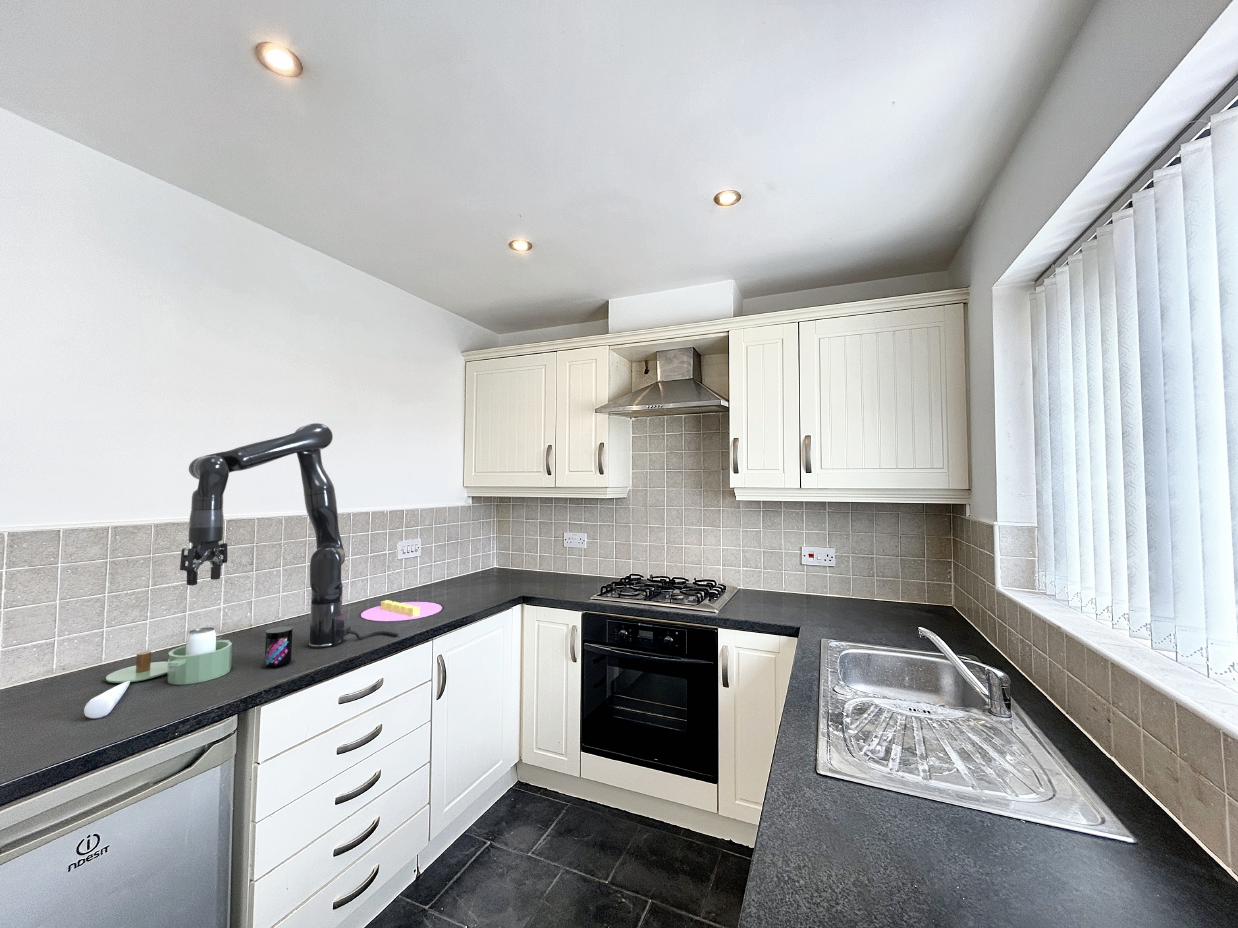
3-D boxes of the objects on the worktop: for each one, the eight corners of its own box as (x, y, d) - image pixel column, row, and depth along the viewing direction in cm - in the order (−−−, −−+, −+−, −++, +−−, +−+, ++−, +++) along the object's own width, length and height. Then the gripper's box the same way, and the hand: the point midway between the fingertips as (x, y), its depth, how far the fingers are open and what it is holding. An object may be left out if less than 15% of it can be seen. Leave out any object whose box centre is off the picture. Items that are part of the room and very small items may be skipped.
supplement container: (258, 667, 144) (259, 631, 144) (280, 659, 150) (281, 625, 151) (275, 669, 142) (277, 633, 143) (296, 661, 149) (298, 627, 149)
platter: (389, 625, 187) (390, 616, 187) (344, 613, 204) (345, 605, 204) (457, 608, 214) (458, 600, 214) (413, 598, 231) (413, 591, 231)
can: (197, 678, 134) (198, 634, 135) (178, 676, 136) (180, 632, 136) (220, 669, 141) (222, 627, 141) (202, 667, 142) (204, 626, 143)
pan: (248, 662, 148) (249, 637, 148) (198, 688, 129) (200, 659, 129) (200, 663, 147) (202, 637, 147) (144, 689, 128) (145, 660, 128)
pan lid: (190, 664, 146) (191, 643, 146) (147, 684, 131) (148, 661, 131) (139, 665, 145) (140, 644, 145) (89, 685, 130) (90, 662, 130)
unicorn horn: (148, 680, 134) (148, 662, 134) (110, 717, 113) (111, 696, 113) (124, 683, 131) (125, 665, 132) (82, 721, 111) (83, 700, 111)
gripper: (200, 527, 133) (198, 587, 132) (237, 523, 147) (235, 577, 147) (171, 527, 133) (168, 587, 132) (211, 523, 147) (209, 577, 146)
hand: (204, 582), depth 139 cm, fingers open, 8 cm apart
